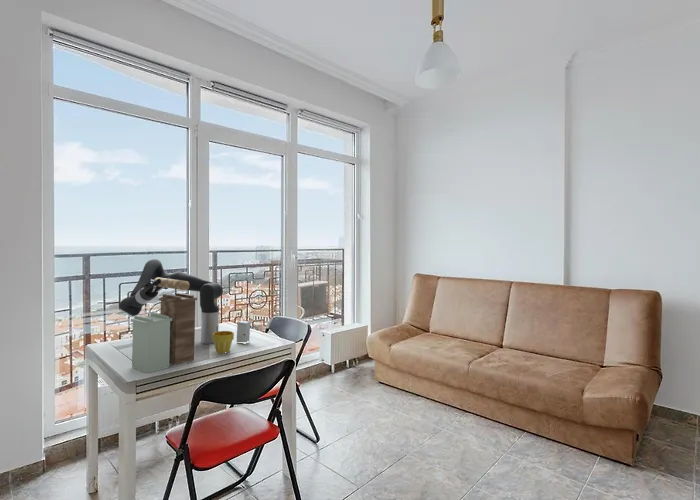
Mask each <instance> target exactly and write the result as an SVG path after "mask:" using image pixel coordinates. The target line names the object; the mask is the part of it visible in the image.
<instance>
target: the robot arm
mask: <svg viewBox="0 0 700 500" xmlns="http://www.w3.org/2000/svg"><path fill="white" fill-rule="evenodd" d="M157 277H159V278H167V279H174V280H182V281H188V282H189V284H190V287H189V289H188V290H187V291H191V292H192V291H193V292H198V293H199V307H200V309H201V312H200V313H201V314H200V317H201V319H200V321H201V322H200V343H201V344H205V345H210V344H211V345H212V344H214V341H213V333H215V332H218V331H219V321H220V320H219V318H220V317H219V316H220V315H219V314H220V313H219V312H220V307H219V306H218V305H216V304H215V300H216V299H218V298H220V297H221V296H222V295H223V293H224V292H223V291H224V290H223V287H222V286H221V284H219V283H217V282H213V281H210V280H205V279H202V278H200V277H197V276H196V275H195V276H194V275H192V274H189V273H187V272H183V271H175V272H173V273H171V272H170V273H169V272H167V271H166V270H164V267H163V264H162V262H161V260H159V259H157V258H154V259H150V260H148V261H147V262H146V263H145V264H144V266H143V269H142V272H141V274H140V277H139V279H138V281H137V284H136V285H135V286H134V288H133V289H132V290H131V293H130V294H129V296H127V297H126V298H124V299H122V300H121V301H120V302H119V306H118V307H119V309H120V310H121V311H122V312H124V313H126V314H128V315H130V316H131V317H134V316H135V315H139V314H140V313H141V312H142V309H143V307H144V306H145V305H146V304H147V303H149V302H151V301H153V299H155V298H156V297H157V296H158V294H159V292H160V291H162V290H163V289H165V290H169V288H165V287H159V286H157V285H158V284H160V283H161V280H160V279H157V280H156V281H154V279H155V278H157ZM152 280H153V281H152ZM151 281H152V282H151Z"/></svg>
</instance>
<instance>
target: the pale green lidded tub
mask: <svg viewBox="0 0 700 500" xmlns="http://www.w3.org/2000/svg"><path fill="white" fill-rule="evenodd" d="M170 321H172V318H169V316H166V315H162V314H160V313H156V312H151V313H150V315H146V316H143V315H139V314H138V315H135V316H133V318H130V322H131V323H132V341H131V342H132V344H131V345H132V347H131V348H132V350H131V351H132V352H131V353H132V354H131V368H132V369H135V370H138V371H140V372H143V373H146V374H150V373H152V372H156V371H159V370H164V369H166V368H169V367H170V363H169V352H170Z"/></svg>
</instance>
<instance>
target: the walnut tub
mask: <svg viewBox="0 0 700 500" xmlns="http://www.w3.org/2000/svg"><path fill="white" fill-rule="evenodd" d="M158 300H159V301H160V313H159V314H162V315H166V316H169V318H172V321H170V352H169V365H174V366H177V365H180V364H185V363H187V362H191V361H194V360H195V335H196V334H195V333H196V332H195V331H196V330H195V329H196V328H195V327H196V301H197V300H198V297H196V296H195V295H194V294H187V293H182V292H181V293H180V292H176V293H175V295H172V294H165V293H164V294H162V296H161V297H158Z"/></svg>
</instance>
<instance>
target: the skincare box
mask: <svg viewBox="0 0 700 500" xmlns="http://www.w3.org/2000/svg"><path fill="white" fill-rule="evenodd" d="M250 334H251V322H250V321H247V320H246V321H245V320H240V321H237V328H236V342H247V341H249V342H250V337H251V336H250Z"/></svg>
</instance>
